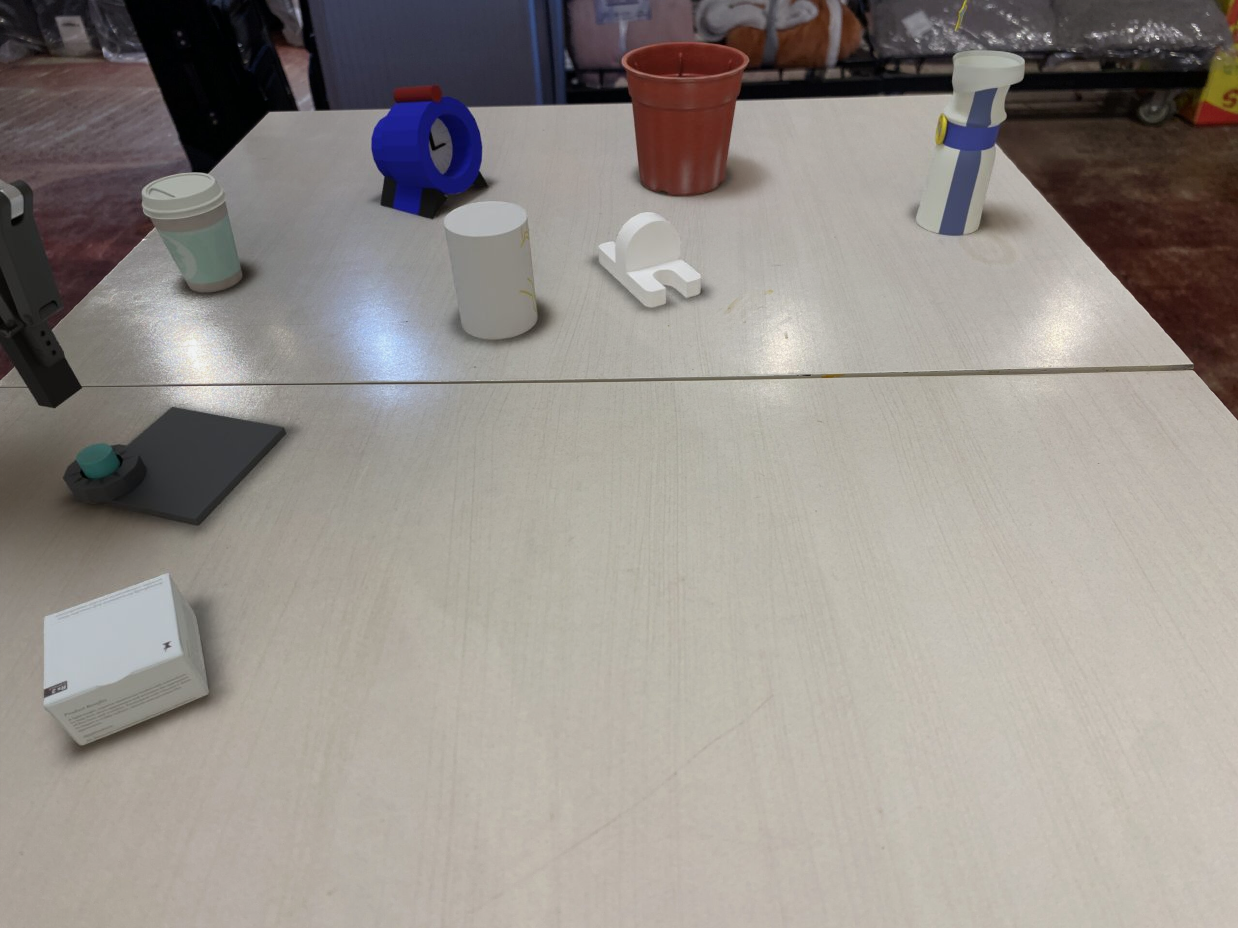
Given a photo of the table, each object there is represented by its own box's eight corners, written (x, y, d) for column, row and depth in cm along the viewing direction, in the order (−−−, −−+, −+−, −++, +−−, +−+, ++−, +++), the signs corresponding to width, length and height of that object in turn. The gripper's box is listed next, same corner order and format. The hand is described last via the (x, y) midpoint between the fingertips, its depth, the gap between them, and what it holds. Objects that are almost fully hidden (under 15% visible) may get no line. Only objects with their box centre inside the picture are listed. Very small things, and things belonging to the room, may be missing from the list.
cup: (547, 334, 85) (537, 227, 77) (472, 352, 83) (454, 243, 75) (525, 299, 91) (514, 195, 83) (454, 314, 88) (435, 209, 80)
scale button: (78, 476, 65) (68, 460, 64) (102, 456, 67) (92, 440, 66) (104, 482, 65) (94, 466, 64) (127, 461, 67) (118, 445, 65)
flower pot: (708, 213, 107) (715, 84, 96) (602, 190, 113) (598, 67, 103) (757, 170, 117) (768, 50, 107) (657, 152, 124) (658, 36, 113)
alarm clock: (436, 220, 107) (414, 102, 97) (369, 202, 112) (342, 88, 102) (493, 187, 115) (478, 75, 105) (428, 172, 120) (408, 63, 110)
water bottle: (915, 235, 100) (967, 10, 84) (909, 207, 106) (957, -8, 90) (985, 239, 99) (1052, 11, 82) (975, 210, 105) (1035, -7, 89)
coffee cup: (180, 276, 97) (138, 177, 89) (254, 262, 99) (220, 165, 91) (177, 309, 91) (132, 207, 83) (257, 294, 93) (220, 193, 85)
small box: (199, 616, 57) (171, 568, 54) (214, 700, 52) (184, 653, 49) (78, 661, 55) (40, 614, 51) (80, 755, 50) (39, 709, 46)
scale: (65, 508, 66) (47, 482, 64) (171, 417, 75) (158, 391, 74) (195, 538, 63) (180, 510, 61) (288, 439, 73) (278, 412, 71)
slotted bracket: (703, 298, 90) (706, 232, 85) (648, 314, 87) (648, 247, 82) (647, 252, 99) (647, 190, 93) (596, 265, 96) (593, 202, 91)
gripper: (4, 46, 47) (166, 380, 62) (-161, 38, 50) (33, 358, 65) (-118, 84, 41) (93, 440, 57) (-294, 72, 44) (-49, 413, 60)
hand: (60, 396), depth 61 cm, fingers closed
